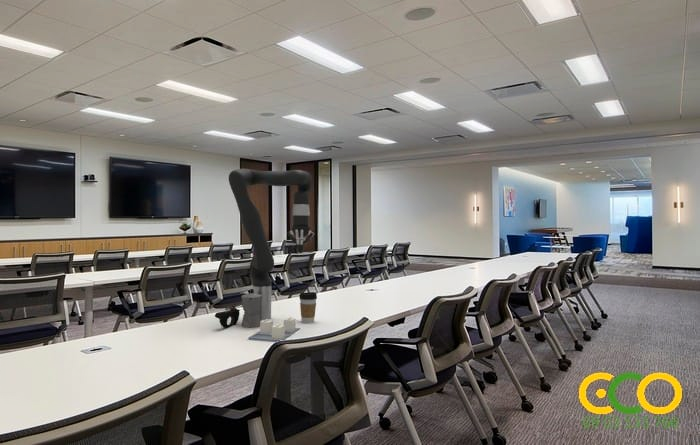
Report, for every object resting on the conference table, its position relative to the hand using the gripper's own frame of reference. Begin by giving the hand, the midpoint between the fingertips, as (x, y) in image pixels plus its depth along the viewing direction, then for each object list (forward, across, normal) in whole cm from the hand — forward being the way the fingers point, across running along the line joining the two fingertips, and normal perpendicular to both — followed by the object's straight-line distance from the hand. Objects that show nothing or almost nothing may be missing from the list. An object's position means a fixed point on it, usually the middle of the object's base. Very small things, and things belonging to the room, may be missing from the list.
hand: (300, 252), depth 201 cm
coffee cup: (+35, 0, +12) cm, 37 cm away
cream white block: (+34, -10, -14) cm, 38 cm away
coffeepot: (+35, -22, -3) cm, 42 cm away
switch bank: (+35, -6, -14) cm, 38 cm away
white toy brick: (+34, -2, -20) cm, 40 cm away
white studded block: (+34, -2, -8) cm, 35 cm away
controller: (+35, -32, -7) cm, 48 cm away
